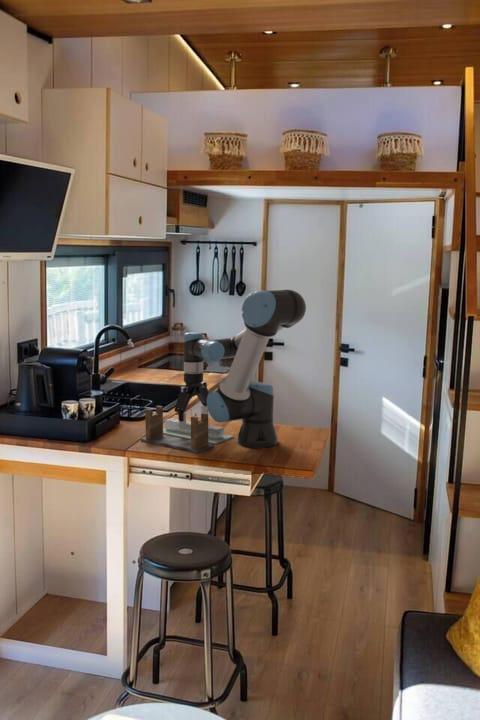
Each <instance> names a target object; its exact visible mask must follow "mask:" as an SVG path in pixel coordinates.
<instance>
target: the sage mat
mask: <svg viewBox="0 0 480 720" xmlns="http://www.w3.org/2000/svg"><path fill="white" fill-rule="evenodd" d="M163 435H167V436H172V437H177V438H182V439H187V440H191V435H190V434H185V433H179V432H174V431H169V430H165V427H163ZM234 438H235V436H234V435H229V434H224V433H223V438H221V439H218V440H215V439H210V438H208V444H211V445H218V444H221V443H223V442H226V441H229V440H231V439H234Z"/></svg>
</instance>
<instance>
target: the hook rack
mask: <svg viewBox="0 0 480 720" xmlns="http://www.w3.org/2000/svg"><path fill="white" fill-rule="evenodd" d="M144 410H145V411H144V412H145V413H144V414H145V415H144V416H145V417H144V418H145V436H144V437H141V438H140V442H144V443H150V444H153V445H159V446H163V447H168V448H173V449H177V450H182V451H185V452H186V451H187V452H191V453H196V454H201V453H203V452H205V451H209V450H211V449H214V448H215V446H214V445H215V444H210V443H208V425H209V413H208V414H204V413H203V414H201V413H200V415H201V416H200V420H199V417H198V416H190V422H191V440H190V439H185V438H180V437H175V436H170V435H165V434H163V428H164V416H163V415H164V406H162V405H155V412H153V409H152V408H145V409H144Z"/></svg>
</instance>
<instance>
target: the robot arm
mask: <svg viewBox="0 0 480 720" xmlns="http://www.w3.org/2000/svg"><path fill="white" fill-rule="evenodd" d="M306 310H307V305H306V301H305V299H304V297H303V296H302V295H301V294H300V293H299V292H298V291H295V290H293V289H278V290H277V289H276V290H267V289H265V290H264V289H262V290H258V291H253V292H251V293H249V294H248V295H247V296H246V297H245V299H244V301H243V302H242V307H241V312H242V313H241V317H242V319H243V324H244V326H245V329H243V330H242V331H240V332H238V333H237V334H235V335H234V336H232V337H227V338H219V339H205V338H204V334H203V333H202V332H199V331H189V332H187V331H186V332H185V333H184V334H183V341H182V345H183V352H182V353H183V382H184V383H185V385H184V386H180V387H179V393H178V397H177V399H176V400H177V401H176V403H175V407H174V412H175V413H178V419H179V429H183V430H186V421H187V413H186V409H187V407H188V405H189V403H190V401H191V399H192V398H193V397H195V396H196V397H197V398H198V400H199V401H200V403H201V406H200V407H201V408H200V410H201V411H200V415H201V414H203V413H204V414H208V415H209V416H211V418H212V419H213V420H214V421H215V422H217V423H229V422H233V421H237V420H241V425H240V429H239V431H238V435H237V444H238V445H239V446H242V447H246V448H255V449H262V448H271V447H274V446H276V445H278V435H277V432H276V428H275V424H274V397H275V395H274V387H273V385H272V384H269V383H267V382H261V381H253V378H254V376H255V373H256V371H257V369H258V366H259V364H260V361H261V359H262V356H263V354H264V352H265V349H266V347H267V345H268V343H269V340H270V338H272V337H273V338H274V337H275V336H276V335H277V333H279V332H280V331H281V330H283V329H290V328H292V327H293V326H296V324H298V323H300V322H301V320H303V318H304V316H305V315H306ZM232 358H233V360H232V363H231V366H230V369H229V371H228V373H227V376H226V378H225V379H222V380H221V381H220V382H219V384H218V386H217V389H216V390H212V391H209V389H208V383H207V382H206V381H204V373H203V371H204V361H208V362H219V361H220V360H222V359H223V360H224V359H232Z"/></svg>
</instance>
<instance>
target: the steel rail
mask: <svg viewBox="0 0 480 720" xmlns="http://www.w3.org/2000/svg"><path fill="white" fill-rule="evenodd" d="M164 425H165V427H164V428H165V430H169V431H174V432H179V433H185V434H190V435H191V420H186V430H183V429H179V418H173V417H172V418H168V419H165V420H164ZM223 434H224V427H223V426H217V425H213V424H212V425H211V424H208V438H210V439H215V440H218V439H221V438H223Z"/></svg>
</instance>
